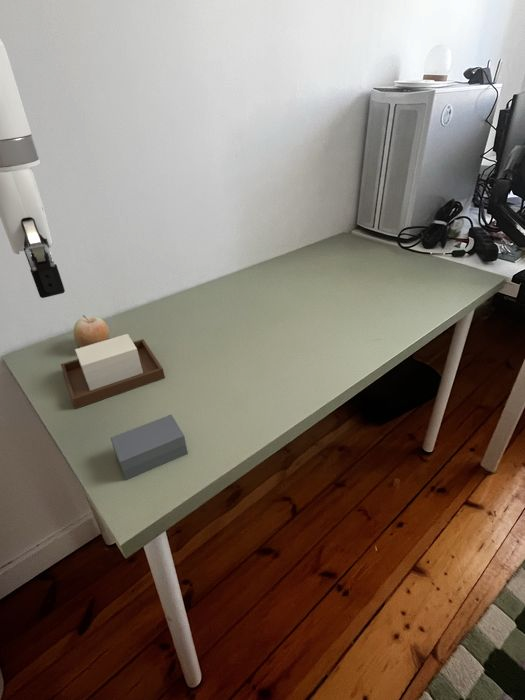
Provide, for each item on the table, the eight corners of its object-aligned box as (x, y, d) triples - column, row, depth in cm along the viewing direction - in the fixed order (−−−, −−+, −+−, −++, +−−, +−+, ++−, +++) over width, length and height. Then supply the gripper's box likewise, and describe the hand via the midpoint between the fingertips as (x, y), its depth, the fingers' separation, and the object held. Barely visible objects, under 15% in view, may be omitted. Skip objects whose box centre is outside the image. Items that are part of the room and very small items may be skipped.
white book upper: (87, 382, 82) (84, 374, 80) (80, 365, 86) (77, 357, 85) (141, 365, 86) (139, 356, 85) (131, 349, 90) (129, 341, 89)
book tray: (75, 409, 79) (71, 399, 78) (63, 373, 89) (60, 364, 88) (165, 378, 86) (163, 368, 85) (145, 347, 96) (143, 338, 94)
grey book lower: (125, 480, 65) (122, 471, 64) (116, 455, 69) (113, 446, 68) (187, 453, 69) (186, 444, 68) (175, 431, 73) (173, 423, 72)
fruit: (70, 353, 95) (59, 322, 90) (89, 336, 101) (80, 305, 96) (101, 357, 93) (91, 325, 89) (119, 339, 99) (110, 308, 95)
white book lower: (90, 391, 83) (87, 382, 82) (83, 373, 88) (80, 365, 86) (143, 373, 87) (141, 365, 86) (133, 357, 92) (131, 349, 91)
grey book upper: (122, 471, 64) (119, 462, 63) (113, 446, 68) (110, 437, 67) (186, 444, 68) (184, 435, 67) (173, 423, 72) (171, 414, 71)
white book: (84, 374, 80) (81, 365, 79) (77, 357, 85) (74, 349, 84) (139, 357, 85) (136, 348, 83) (129, 341, 89) (127, 333, 88)
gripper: (-31, 149, 58) (15, 269, 67) (-31, 169, 45) (25, 313, 55) (29, 142, 61) (65, 258, 70) (45, 160, 48) (86, 298, 58)
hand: (48, 282), depth 62 cm, fingers open, 9 cm apart
